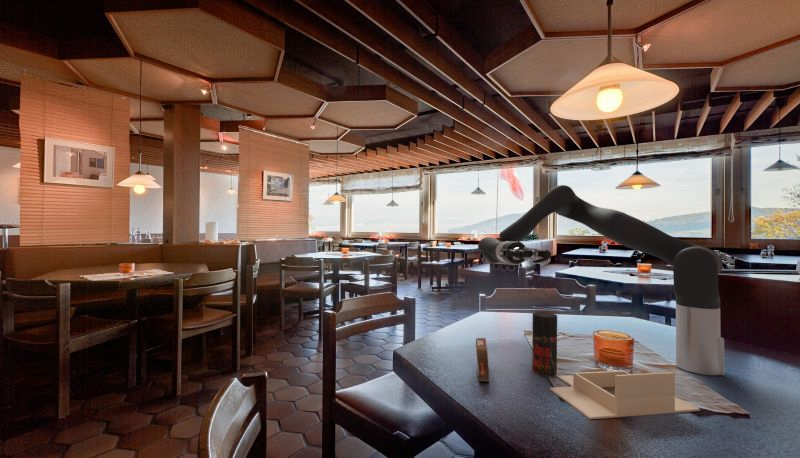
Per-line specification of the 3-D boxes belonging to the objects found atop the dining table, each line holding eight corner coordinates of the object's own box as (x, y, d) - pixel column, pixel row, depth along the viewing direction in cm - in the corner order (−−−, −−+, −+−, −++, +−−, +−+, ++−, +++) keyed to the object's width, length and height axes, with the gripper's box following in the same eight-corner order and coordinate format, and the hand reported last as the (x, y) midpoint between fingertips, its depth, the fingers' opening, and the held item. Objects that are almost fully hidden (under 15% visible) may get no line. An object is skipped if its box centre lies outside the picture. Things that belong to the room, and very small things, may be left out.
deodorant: (528, 368, 93) (528, 312, 94) (549, 367, 94) (549, 312, 94) (538, 377, 88) (539, 317, 88) (561, 376, 88) (561, 317, 88)
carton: (535, 378, 86) (536, 346, 87) (625, 374, 90) (625, 343, 91) (589, 419, 67) (589, 377, 68) (699, 410, 71) (699, 371, 72)
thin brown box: (489, 388, 81) (490, 351, 81) (476, 386, 81) (476, 350, 82) (486, 365, 96) (487, 334, 96) (475, 364, 96) (475, 333, 96)
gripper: (491, 241, 118) (514, 242, 102) (530, 241, 121) (558, 242, 105) (491, 263, 118) (514, 267, 102) (529, 263, 121) (558, 267, 105)
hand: (536, 254), depth 104 cm, fingers open, 8 cm apart
